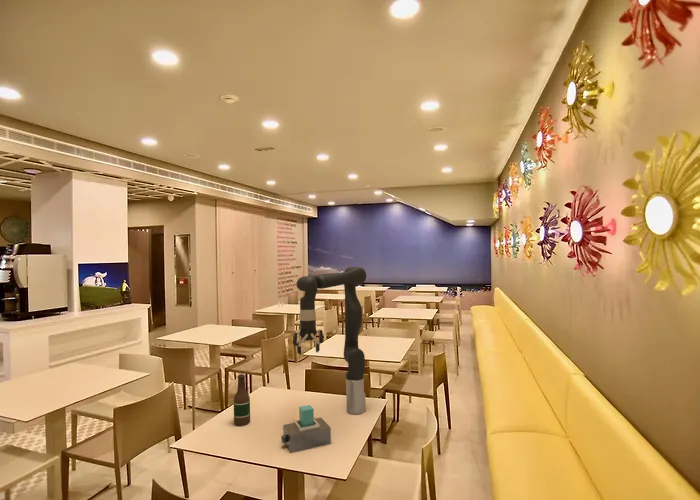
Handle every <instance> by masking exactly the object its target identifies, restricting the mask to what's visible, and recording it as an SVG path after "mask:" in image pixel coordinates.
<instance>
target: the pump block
mask: <svg viewBox="0 0 700 500" xmlns="http://www.w3.org/2000/svg"><path fill="white" fill-rule="evenodd" d="M298 409H299V411H298V412H299V419H298V420H300V426H301V427H305V426H310V425H314V419H315V417H314V415H315V414H314V413H315V412H314V407H313V406H311V405H310V404H308V405H307V404H306V405H302V406H299V407H298Z"/></svg>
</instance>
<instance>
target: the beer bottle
mask: <svg viewBox="0 0 700 500" xmlns="http://www.w3.org/2000/svg"><path fill="white" fill-rule="evenodd" d="M236 377H237V388H236V389H237V391H236V392H235V394H234V397H233V423H234V426H235V427H246V426H248V425H249V424H250V423H251V400H250V394H249V393H248V391H247V389H246V379H245V378H246V375H245V374H244V373H242V374H241V373H240V374H238V375H237V376H236Z"/></svg>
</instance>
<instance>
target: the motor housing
mask: <svg viewBox="0 0 700 500" xmlns="http://www.w3.org/2000/svg"><path fill="white" fill-rule="evenodd" d="M282 428H283V429H282V433H283V435H281V436H280V438H281V439H280V440H281V444H284V445H285V446H286V448H287V449H288V451H289V453H291V454H292V453H296V452H300V451H305V450H309V449H314V448H317V447H318V448H319V447H322V446H326V445H331V444H332V433H331V431H332V429H331V428H332V427H331V426H330V425H329V424H328V423H327V422H326V421H325V419H324V418H323V417H317V418H314V425H310V426H305V427H301V426H300V419H296V420H293V422H292V423H286V424H283V425H282Z"/></svg>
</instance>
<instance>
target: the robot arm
mask: <svg viewBox="0 0 700 500" xmlns="http://www.w3.org/2000/svg"><path fill="white" fill-rule="evenodd" d="M366 280H367V271H366V270H365V269H364V268H363V267H359V266H348V267H346V268H345V269H344V271H343V272H330V273H322V274H317V275H305V276H301V277H299V278H298V279H297V281H296V287H297V289H298V290H299V291H300V292H304V295H303V296H302V297H301V298H300V299H299V309H300V310H299V332H298V331H297V332H295V331H294V332H293V334H292V335H293V337H292V345H293V346H295V347H296V349H297V350H296V351H297V354H298V355H302V344H303V343H304V342H306V341H307V342H308V341H313V342H315V352H316V353H319V352H320V345H321V344H322V343H324V335H323V334H324V333H323V330H322V329H318V330H317V322H316V319H317V316H316V298H317V297H316V296H317V294H318V293H317V292H318V290H319V289H320V290H323V289H329V288H333V287H338V286H343V288H344V333H345V334H344V347H343V360H345V362H347V372H346V373H345V388H346V393H345V394H346V395H345V396H346V397H345V398H346V413H347V414H350V415H360V414H363V413H364V412H365V413H366V411H367V405H366V404H367V403H366V402H367V401H366V400H367V399H366V393H365V388H364V384H365V383H364V374H365V371H366V367H365V366H366V358H365V357H366V356H365V352H364V351H363V350H362V349H360V348H359V334H360V330H361V327H362V324H363V308H362V304H361V303H360V299H359V297H358V295H357V290H356V288H357V285H359V286H360V285H361V284H364V283H365V282H366ZM316 335H318V338H317V337H316ZM299 337H300V338H299ZM298 338H299V340H298Z"/></svg>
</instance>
